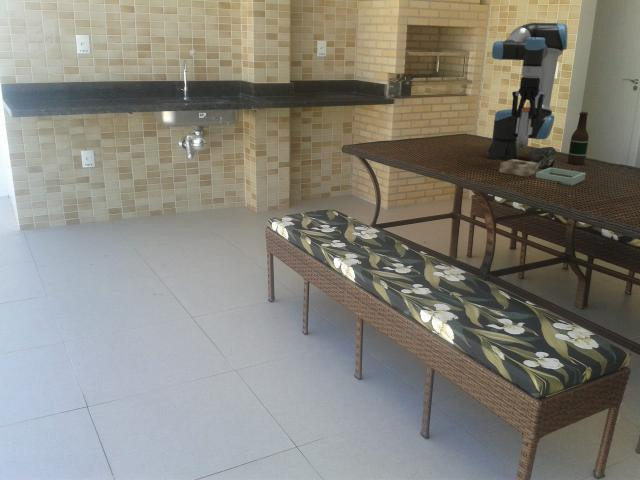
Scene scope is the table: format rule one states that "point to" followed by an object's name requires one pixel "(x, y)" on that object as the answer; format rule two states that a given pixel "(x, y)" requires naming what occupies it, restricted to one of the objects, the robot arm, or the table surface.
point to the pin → (523, 127)
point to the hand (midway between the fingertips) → (523, 133)
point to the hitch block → (519, 167)
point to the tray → (562, 180)
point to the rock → (543, 157)
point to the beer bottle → (579, 142)
